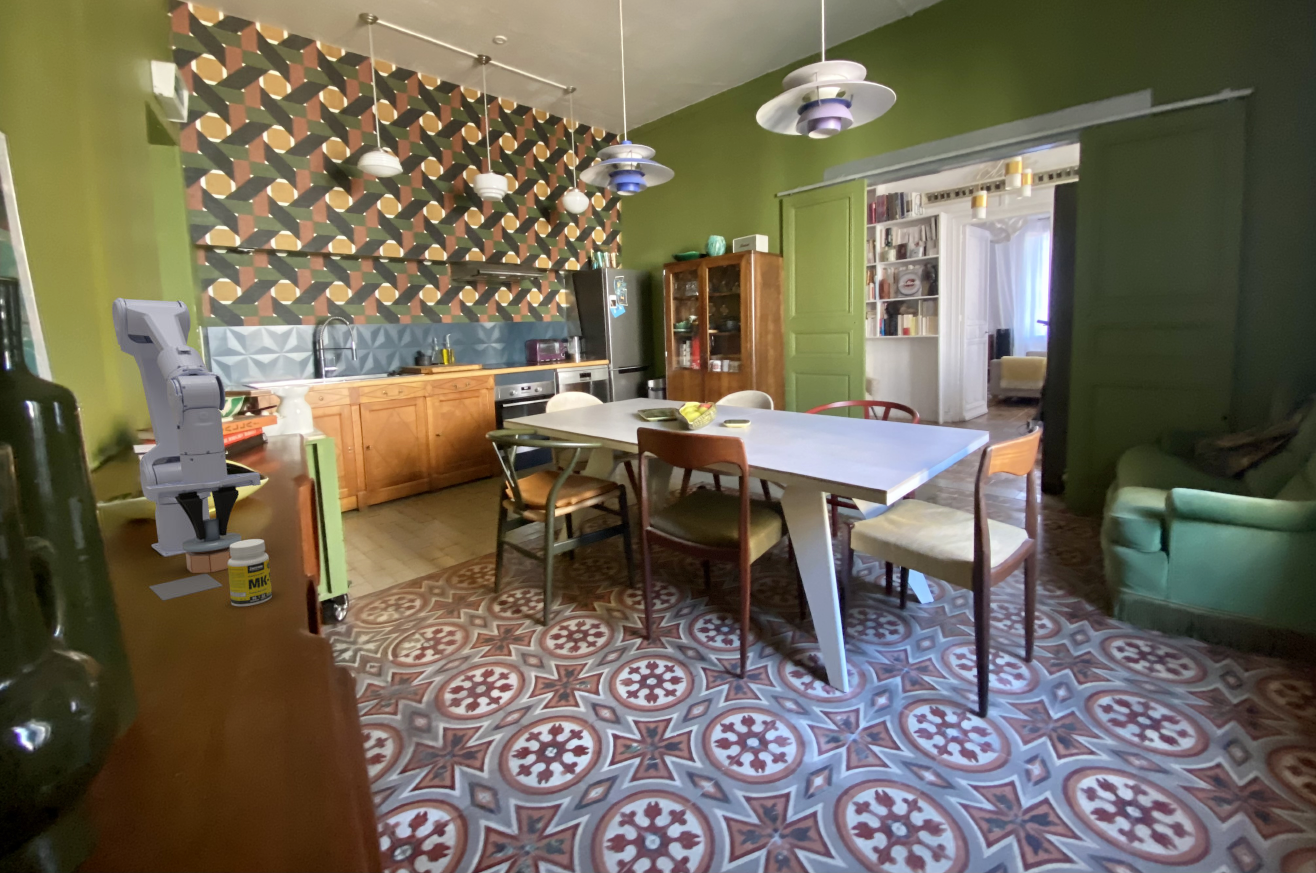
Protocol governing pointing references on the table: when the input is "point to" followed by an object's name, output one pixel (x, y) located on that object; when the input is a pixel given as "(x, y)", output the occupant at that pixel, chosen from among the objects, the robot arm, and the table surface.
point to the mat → (185, 586)
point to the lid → (211, 538)
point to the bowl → (208, 560)
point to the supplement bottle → (249, 573)
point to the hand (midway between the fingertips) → (211, 536)
